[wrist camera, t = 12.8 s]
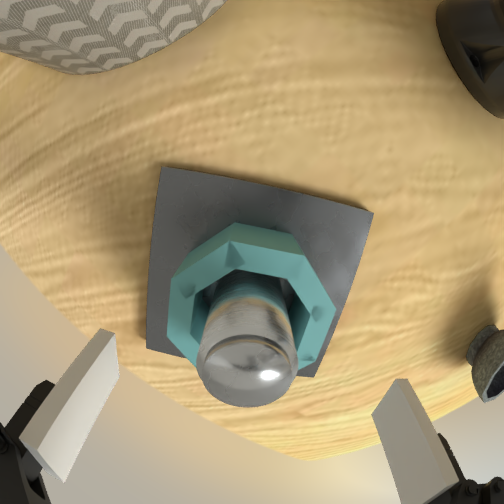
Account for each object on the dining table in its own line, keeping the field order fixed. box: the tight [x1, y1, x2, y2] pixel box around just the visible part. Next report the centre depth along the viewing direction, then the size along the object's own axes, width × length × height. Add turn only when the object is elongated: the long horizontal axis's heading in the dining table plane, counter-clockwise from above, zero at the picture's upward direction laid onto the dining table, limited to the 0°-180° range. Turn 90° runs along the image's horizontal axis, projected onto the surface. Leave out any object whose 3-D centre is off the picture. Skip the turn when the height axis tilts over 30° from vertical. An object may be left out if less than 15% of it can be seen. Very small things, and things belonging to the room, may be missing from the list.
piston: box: [146, 166, 374, 407], centre depth 17 cm, size 16×16×11 cm
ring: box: [167, 222, 336, 370], centre depth 19 cm, size 10×10×5 cm
